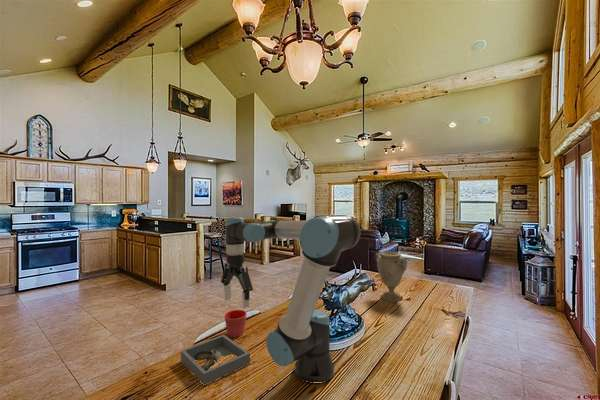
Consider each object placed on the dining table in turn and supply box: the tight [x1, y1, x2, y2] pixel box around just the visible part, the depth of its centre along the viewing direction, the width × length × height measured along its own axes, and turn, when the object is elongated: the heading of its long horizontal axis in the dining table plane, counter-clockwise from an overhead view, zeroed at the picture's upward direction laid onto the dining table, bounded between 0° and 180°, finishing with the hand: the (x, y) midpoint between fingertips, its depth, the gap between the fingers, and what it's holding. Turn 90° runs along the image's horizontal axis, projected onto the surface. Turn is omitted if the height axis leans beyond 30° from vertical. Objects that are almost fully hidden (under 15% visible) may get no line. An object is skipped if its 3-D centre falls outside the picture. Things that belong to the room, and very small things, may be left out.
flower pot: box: [224, 309, 247, 338], centre depth 140 cm, size 11×11×10 cm
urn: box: [375, 251, 408, 303], centre depth 187 cm, size 24×18×30 cm
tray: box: [180, 334, 251, 385], centre depth 115 cm, size 21×19×4 cm
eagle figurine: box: [194, 348, 221, 371], centre depth 112 cm, size 8×7×9 cm
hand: (236, 303), depth 121 cm, fingers open, 13 cm apart
